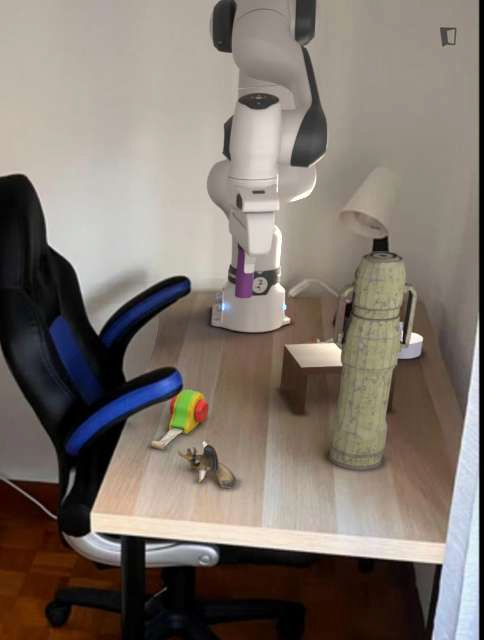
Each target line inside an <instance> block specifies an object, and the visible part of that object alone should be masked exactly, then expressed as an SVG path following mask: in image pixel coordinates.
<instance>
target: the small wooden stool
mask: <svg viewBox="0 0 484 640" xmlns="http://www.w3.org/2000/svg"><path fill="white" fill-rule="evenodd" d="M341 351H342V350H340V349H339V348H338V347H337V346H336V344H335V343H334V342H331V343H323V344H302V343H301V344H300V343H298V344H297V343H295V344H294V343H293V344H284V345H283V355H282V365H281V366H282V367H281V375H280V387H279V390H280V392H281V393H282V395H283V397H284V398H285V400H286V402H287V403H288V404H289V406H290V407H291V409H292V411H293V412H294V413H295V415H304V414H305V408H306V398H307V390H308V382H309V380H308V379H309V375H336V374H337V375H338V374H340V375H342V367H343V366H342V363H341ZM398 368H399V364H398V363H397V364H396V366H395V367H394V369H393V372H392V379H391V385H390V392H389V398H388V405H387V411H386V413H389V412H392V407H393V400H394V395H395V388H396V381H397V377H398V376H397V375H398Z"/></svg>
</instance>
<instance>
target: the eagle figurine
mask: <svg viewBox="0 0 484 640" xmlns="http://www.w3.org/2000/svg"><path fill="white" fill-rule="evenodd" d="M201 444H202V449H203V453H202V454H198V450H197V448H196V447H195V446H193V447H192V448H193V452H192V450H191V449H192V448H191V447H189V448H187V449H186V454H185V453H183V452H181V450H179V449H178V450H176V452H177V453H178V456H180V457H181V458H184V459H186V460H187V461H188V463H189V464H190V467H191V469H192V471H196V469H197V468H198V480H197V482H198V483H200V482H201V481H202V480H204V479H205V476H206V473H207V471H209V472H212V473H213V474H214V475H215V477H216V478H217V480H218V482H219V485H220V486H221V488H225V489H232V488H233V489H234V488H235V486H237V485H236V484H237V479H236V478H237V477H236V476H235V474H234V473H233V472H232V470H230V468H228V467H227V466H226V465H225V464H223V463H221V462H220V460H219V456H218V453H217V450H216V448H215V447H214V446H212V445H210V444H208V443H207V442H206V441H202V442H201ZM196 461H198V462H196Z"/></svg>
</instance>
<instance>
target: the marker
mask: <svg viewBox="0 0 484 640" xmlns="http://www.w3.org/2000/svg"><path fill="white" fill-rule="evenodd" d="M237 248H238V258H237V272H236V286H235V297H237V298H250V297H252V291H253V279H254V272H253V273H245V272H244V271H243V262H244V258H245V254H244V250H243V248H242V247H241V246H240V245H239V243H238V246H237ZM254 266H255V264H254Z"/></svg>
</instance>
